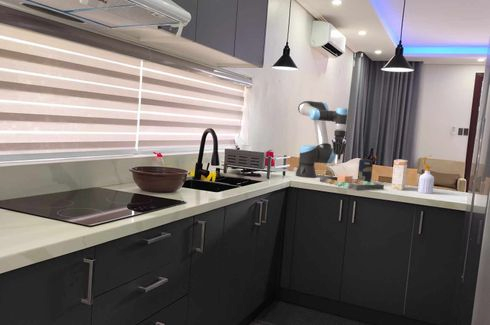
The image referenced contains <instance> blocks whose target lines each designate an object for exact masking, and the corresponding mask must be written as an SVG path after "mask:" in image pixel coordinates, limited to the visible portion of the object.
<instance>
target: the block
mask: <svg viewBox="0 0 490 325" xmlns="http://www.w3.org/2000/svg"><path fill="white" fill-rule="evenodd" d="M337 177H338V178H337V181H341V182H345V183H350V184H353V183H352V179H354V177H353V175H348V174H337Z"/></svg>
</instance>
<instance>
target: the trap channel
mask: <svg viewBox="0 0 490 325" xmlns="http://www.w3.org/2000/svg"><path fill="white" fill-rule="evenodd" d="M337 178H338V176H336V177H335V176H333V177H332V176H329V177H328V176H324V177H323V176H321V177H319V182H320V183H324V182H325V184H328V183H331V184H330V185H332V184H334V186H337V185H339V186H338V187H341V186H343V187H342V188H345V187H346V189H350V190H355V191H368V190H370V189H383V190H384V186H385V184H381V183H376V182H372V181H371V182H367V181H362V180H358V178H357V179H356V178H352V184H350V183H345V182H341V181H337ZM354 183H355V184H354ZM370 191H371V190H370Z"/></svg>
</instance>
